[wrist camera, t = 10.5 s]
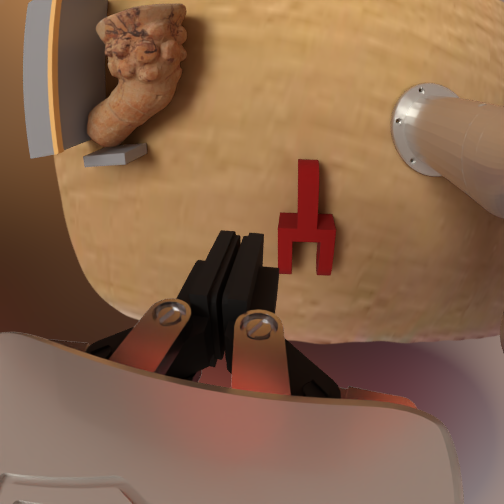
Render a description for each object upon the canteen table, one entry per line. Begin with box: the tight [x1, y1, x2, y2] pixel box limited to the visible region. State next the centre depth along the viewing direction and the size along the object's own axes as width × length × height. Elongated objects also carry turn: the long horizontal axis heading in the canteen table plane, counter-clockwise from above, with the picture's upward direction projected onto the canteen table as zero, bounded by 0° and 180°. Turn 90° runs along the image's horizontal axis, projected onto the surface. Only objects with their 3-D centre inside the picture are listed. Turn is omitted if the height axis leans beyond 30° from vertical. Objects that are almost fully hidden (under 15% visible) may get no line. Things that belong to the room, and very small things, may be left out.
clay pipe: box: [87, 4, 187, 147], centre depth 28 cm, size 19×11×15 cm
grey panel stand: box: [23, 0, 147, 167], centre depth 25 cm, size 12×29×12 cm, turn 179°
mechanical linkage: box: [278, 159, 336, 275], centre depth 37 cm, size 16×7×5 cm, turn 3°
